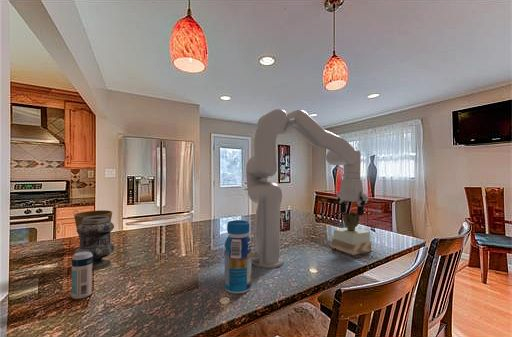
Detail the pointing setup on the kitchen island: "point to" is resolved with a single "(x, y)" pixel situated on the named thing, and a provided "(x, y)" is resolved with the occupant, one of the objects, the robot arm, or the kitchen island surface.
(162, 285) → the kitchen island surface
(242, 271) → the beverage bottle
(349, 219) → the dark brown tapered piece
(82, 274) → the white pill bottle
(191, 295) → the kitchen island surface
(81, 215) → the plant pot
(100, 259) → the dark grey carved vase
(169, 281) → the kitchen island surface
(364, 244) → the box
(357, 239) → the tower top
